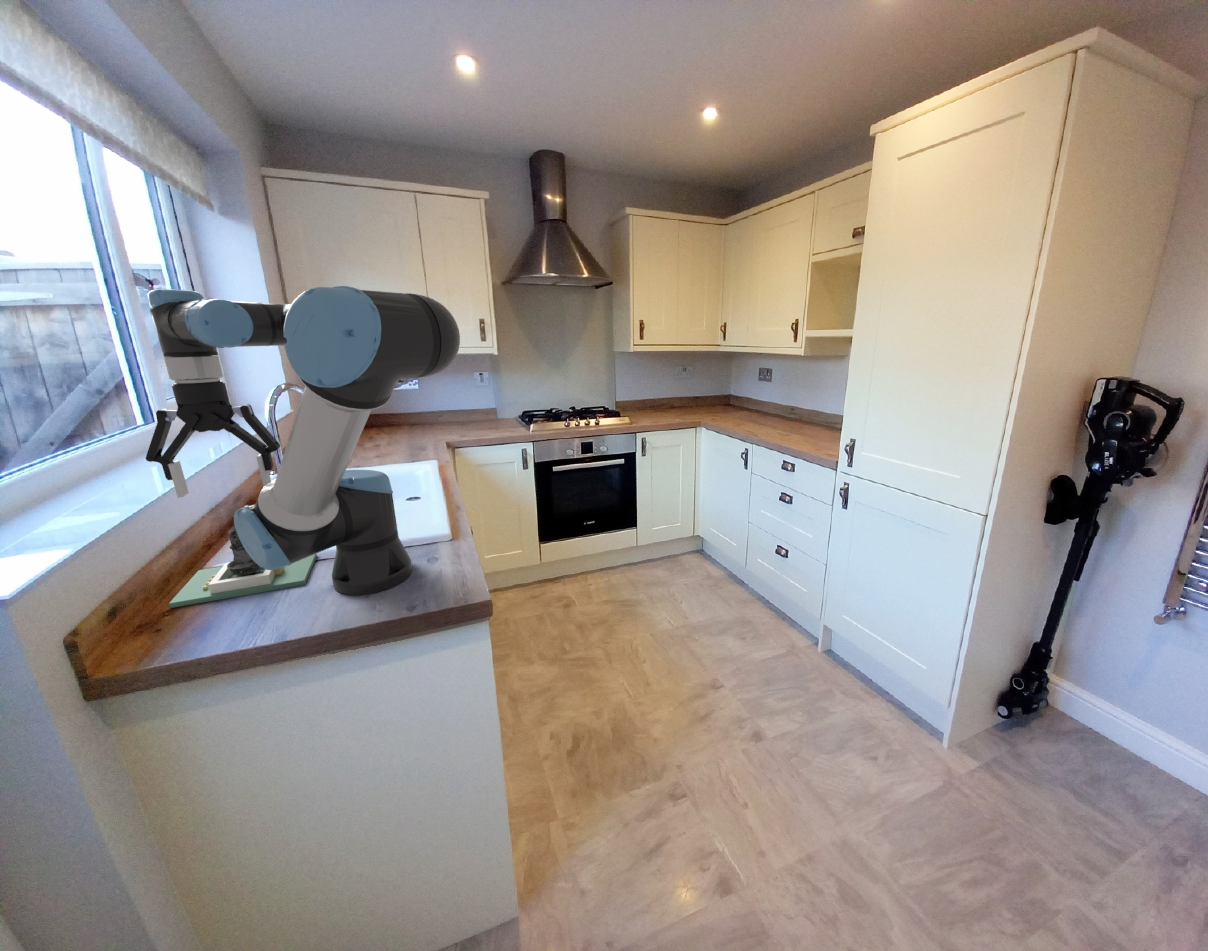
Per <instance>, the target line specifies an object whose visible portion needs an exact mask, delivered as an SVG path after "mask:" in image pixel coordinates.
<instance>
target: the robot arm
mask: <svg viewBox="0 0 1208 951" xmlns="http://www.w3.org/2000/svg"><path fill="white" fill-rule="evenodd" d="M147 299H148V300H147V301H148V304H149V313H150V315H151V317H152V321H153V324H154V327H155V331H156V335H157V338H158V341H159V344H160V348H161V351H162V354H163V360H164V364H165V367H166V370H167V373H168V374H167V375H168V378H169V379H170V380H172V381H174V383H172V384H171V387H172V388H171V389H172V393H173V396H174V399H175V403H176V406H177V409H169V408H166V407H165V408H162V409H158V410H156V412H155V413H156V416H155V417H156V426H155V428H154V432H153V435H152V437H151V441H150V444H149V446H148V450H147V451H146V452H147V453H146V455H145V460H146V461H147V462H149V463H150V462H151V463H152V462H155V463H159V464H160V465H161V467H162V469H163V473H164V476H165V477H164V478H165V479H166V480H167V481H172V483H173V487H174V489H175V492H176V496H177V498H184V497H185V496H187V495H188V494H190V493H189V489H188V485H187V482H186V478H185V475H184V472H183V468H182V464H181V461H180V460H175V459H176V457H177V455H178V454H179V453H180V451H181V450H182V449H183V447H184V446H185V445H186V443H187V442H188V440H189V439H190V438H191V436H192V435H193V434H194V433H195V432H198V433H205V432H210V431H211V432H220V431H222V430H225V431H226V432H228V433H230V434H232V435H233V436H235V437H236V438H237V439H239V440H240V441H242V442H243V443H245V444H246V445H248V446H249V447H250V448H252V449H253V450H254V451H256V452H257V453H259V454H258V455H256V456H255V457H256V461H257V466H258V470H259V474H260V478H261V481H262V482H261V483H262V489H261V490H260V492H259V495H258V498H257V500H256V503H253V504H251V505H248V504H246V505H244V506H243V507H240V508H238V509H237V510H235V512H234V515H233V523H234V524H233V525H235V527H234V528H236V531H237V534H238V536H239V539H240V541H241V543H242V545H243V547H244V548H245V550H246V551H247V553H248V554H249V556H250V557H251V558H252V559H253V561H254V562H255V563H256V564H257V565H259V566H260V567H262V568H264V569H266V570H275V569H278V568H281V567H284V566H288V565H289V566H290V565H291V564H292V563H295V562H297V561H299V560H302V559H304V558H307V557H309V556H312V555H314V554H319V553H321V552H323V551H326V550H329V549H330V548H333V547H335V549H336V552H335V556H334V562H333V567H332V572H331V573H332V574H331V581H332V585H333V588H334V590H335V591H336V592H339V593H340V594H344V595H349V596H350V595H351V596H357V595H358V596H359V595H361V596H362V595H369V594H375V593H378V592H382V591H385V590H389V589H391V588H394V587H395V586H397V585H399V584H401V583H402V582H404V581H405V580H407V579H408V578H409V577H410V575H411V574H412V572H413V565H412V560H411V557H410V555H409V554H408V551H407V550H406V547H405V546H404V544H403V542H402V540H401V539H400V537H399V531H398V524H397V518H396V511H395V510H396V509H395V503H394V496H393V494H394V490H393V489H392V484H391V481H390V477H389V476H388V475H387V474H386V473H384V472H383V471H380V470H373V469H347V468H348V465H349V463H350V460H351V459H352V456H353V454H354V451H355V449H356V447H357V445H358V443H359V440H360V438H361V435H362V433H363V430H364V428H365V426H366V424H367V422H368V419H369V417H370V415H371V412H372V411H374V410H377V409H380V408H382V407H383V406H385V405H386V404H387V403H388V402H389V399H390V398H391V395H392V393H393V391H394V389H395V386H397V383H398V382H399V381H401V380H408V379H414V378H415V379H417V378H418V379H419V378H425V377H426V378H427V377H431V376H433V375H437V374H439V373H442V371H444V370H446V369H447V368H448V367H449V366H450V365H451V364H452V363H453V362H454V360H455V359H456V357H457V356H458V353H459V350H460V345H461V336H460V330H459V326H458V323H457V321H456V318H455V317H454V316H453V314H452V313H451V312H450V311H449V309H447V307H446V306H444V305H443V303H441V302H439V301H437V300H435V299H434V298H431V297H429V296H426V295H423V294H417V293H411V292H410V293H408V292H407V293H402V292H392V291H380V290H378V291H377V290H368V289H359V288H356V287H352V286H347V285H346V286H345V285H340V286H338V285H337V286H332V287H329V286H327V287H326V286H322V287H321V286H319V287H313V288H310V289H307V290H304V291H303V292H302V293H300V294H299V295H298V296H297V297H295V298H294V300H293V301H292V303H272V302H271V303H265V302H252V301H251V302H250V301H233V300H228V299H224V298H211V297H210V298H209V297H208V298H205V297H204V296H203V295H202V294H201V293H200V292H199V291H195V290H189V289H175V288H174V289H171V288H170V289H169V288H168V289H167V288H165V289H152V290H150V291H148V293H147ZM270 346H271V347H273V346H274V347H275V346H276V347H277V346H278V347H279V346H280V347H281V346H284V350H285V353H286V356H287V359H288V362H289V364H290V366H291V368H292V369H293V370H294V372H295V374H296V375H297V376H298V379H299V380H300V382H301V384H302V385H303V386H304V390H303V393H302V395H301V398H300V402H299V405H298V408H297V412H296V415H295V418H294V421H293V424H292V426H291V430H290V433H289V437H288V440H287V442H286V447H285V449H284V452H283V455H282V459H281V461H280V465H279V468H278V472H277V474H276V478H275V479H273V480H272V478H271V476H270V471H271V470H273V469H274V462H273V461H274V460H273V456H272V453H274V452H276V451H278V450H279V449H280V448H281V444H280V443H279V442H278V441H277V439H276V438H275V437H274V436H273V435H272V433H271V432H270V431H269V430H268V429H267V427H266V426H265V425H264V424H263V423H262V421H260V419H259V418H258V417H257V416H256V415H255V412H254V409H253V406H252V405H251V404H249V403H246V404H243V405H239V406H232V404H231V402H230V398H229V394H228V390H227V386H226V382H224V381H223V380H220V379H221V378H223V377H224V374H223V370H222V366H221V362H220V356H219V353H218V350H217V349H224V348H228V349H229V348H236V347H237V348H238V347H270ZM235 414H237V415H238V416H239V417H240V418H243V419H244V421H245V422H246V423H247V424H248V425H249V427H250V428H251V429H252V430H253V432H255V433H256V434H257V436H259V438H260V439H261V440H259V438H257V437H255V436H254V435H253V434H251V433H250V432H249V431H248V430H246V429H244V428H243V427H242V426H240V424H239V422H236V421H235V420H234V419H233V417H234V415H235ZM176 417H177V418H178V419H179V420H181V421H182V422H183V423H184V425H183V426H182V428H181V429H180V431H179V433H178V434H177V435H176V436H175V438H174V439H173V441H172V442H171V443H170V444H169V445H168V447H167V449H166V450H165V451H164V453H163V450H164V448H165V447H164V446H165V445H166V441H167V438H168V436H169V434H170V430H171V427H172V423H173V422H174V421H175V420H176Z"/></svg>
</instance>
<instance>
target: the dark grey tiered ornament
mask: <svg viewBox="0 0 1208 951" xmlns="http://www.w3.org/2000/svg"><path fill="white" fill-rule="evenodd" d="M228 537H229V542H230V546H229V550H231V551H232V554H233V560H232V561H229V562H230V563H229V564H228V565H227V568H229V569H230V571H231V572H232V573H233V574H235V575H237V576H236V577H235V578H238V577H244V576H250V575H256V574H262V573H264V572H263V571H259V570H258V569H259V568H260V566H259V565H257V564H256V563H255V562H254V561H253V559H252V558H251V557H250V556H249V554H248V553H247V551H246V550H245V548H244V547H243V545H242V543H241V541H240V539H239V536H238V534H237V531H236V528H235V524H233V528H232V529H230V530H229V531H228Z"/></svg>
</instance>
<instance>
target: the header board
mask: <svg viewBox="0 0 1208 951" xmlns="http://www.w3.org/2000/svg"><path fill="white" fill-rule="evenodd" d="M317 554H318V553H316V554H314V555H312V556H309V557H307V558H304V559H302V560H299V561H297V562H295V563H292V564H291V565H290V566H289V565H288V566H284V567H281V568H278V569H275V570H266V569H264V568H262V567H260V568H259V569H258V570H259V571H263V572H264V573H262V574H256V575H250V576H244V577H238V578H235V577H236V576H237V575H235V574H233V573H232V572H231V571H230V569H229V568H227V565H228V564H229V563H230V562H231V561H229V562H225V563H224V564H223V566H217V567H212V568H203V569H199V570H198V571H196V572H195V574H194V575H193V576H192V577H191V578H190V579H189V580H188V581H187V583H186V584H185V585H184V586H183V587H182V588H181V589H180V590H179V591H178V593H177V594H176V595H175V596H174V597H173V598H172V599H171V601H169V603H168V605H169V607H170V609H172V608H178V607H184V606H190V605H197V604H201V603H207V602H213V601H218V600H224V599H229V598H236V597H241V596H247V595H253V594H258V593H264V592H271V591H276V590H281V589H282V590H283V589H287V588H293V587H298V586H304V585H306V583H307V581H308V578H309V576H310V574H311V571H312V569H313V567H314V564H315V562H316V559H317V556H318V555H317Z"/></svg>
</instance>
